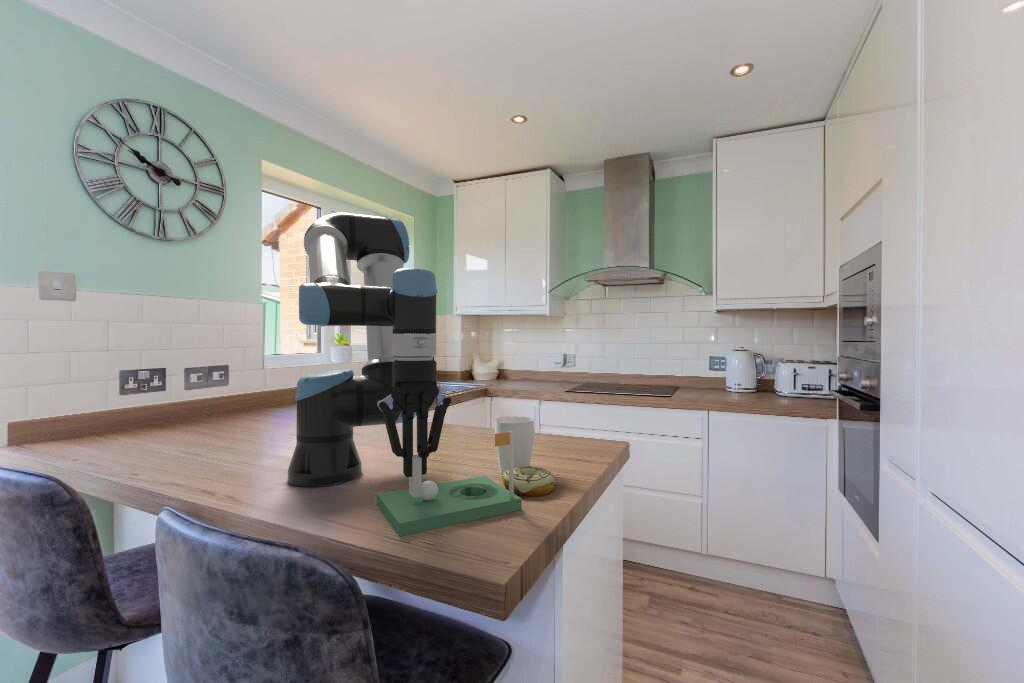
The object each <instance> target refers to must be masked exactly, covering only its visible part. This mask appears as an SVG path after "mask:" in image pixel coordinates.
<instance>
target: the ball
mask: <svg viewBox="0 0 1024 683" xmlns="http://www.w3.org/2000/svg"><path fill="white" fill-rule="evenodd" d="M437 484H438V483H436V482H435V481H433V480H425V481H422V496H420V497H421V498H422V499H423V500H426V501H430V500H432V499H434V498H435V497H436V496H437V494H438V486H437Z"/></svg>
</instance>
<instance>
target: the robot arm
mask: <svg viewBox="0 0 1024 683" xmlns="http://www.w3.org/2000/svg"><path fill="white" fill-rule="evenodd" d="M303 247H304V252H305V253H306V255H307V257H308V264H309V265H308V266H309V267H308V269H309V270H308V271H309V283H302V284H300V285H299V286H298V318H299V321H300V323H301V324H303V325H306V326H320V327H332V326H333V327H337V326H338V327H342V326H344V327H345V326H347V327H349V326H350V327H352V326H353V327H356V326H357V327H358V326H361V327H362V326H363V327H365V328H366V346H367V347H366V348H367V362H366V363H365V364H364V365H363V366H362V367H361V374H356V375H355V374H354V371H353V370H352V369H351V368H345V369H344V368H343V369H333V370H326V371H320V372H315V373H310V374H306V375H303V376H301V378H299V379H298V381H297V383H296V393H295V397H294V398H295V399H294V400H295V401H296V430H295V431H296V445H295V447H294V451H293V453H292V457H291V460H290V463H289V464H288V468H287V482H288V483H289V484H291V485H292V486H293V485H294V486H296V487H306V488H307V487H310V488H311V487H312V488H313V487H314V488H315V487H325V486H334V485H338V484H342V483H347V482H349V481H352V480H354V479H356V478H358V477H359V476H361V475H362V474H363V473H362V461H361V458H360V455H359V453H358V452H359V451H358V449H357V446H356V443H355V441H354V440H355V439H354V427H357V428H358V427H366V426H367V427H368V426H379V425H380V426H381V425H385V428H386V433H387V436H388V440H389V444H390V448H391V451H392V453H393V455H395V456H396V457H401V458H403V459H402V460H403V461H402V463H403V464H402V466H403V468H402V471H403V472H402V473H403V475H404V476H405V478H408V489H409V493H410V494H411V495H412V496H413V497H418V496H422V483H423V481H422V478H423V477H422V476H425V475H427V472H428V468H427V467H428V457H429V456H430V454H432V453H436V452H437V451H438V448H439V444H440V438H441V434H442V431H443V425H444V422H445V416H446V412H447V410H448V408H449V406H450V404H451V403H452V398H451V397H449V396H446V395H444V394H443V393H441V392H440V389H439V386H438V385H437V380H438V379H437V378H438V377H437V375H438V374H437V361H436V360H435V359H434V358H435V357H436V356H437V295H438V289H437V280H436V279H437V278H436V274H435V273H434V272H433V271H432V270H429V269H424V268H422V269H421V268H404V267H405V266H404V265H405V264H407V263H408V261H409V258H410V238H409V233H408V229H407V226H406V225H405V223H404V222H403V221H402V220H400V219H398V218H392V217H389V216H375V215H367V214H366V215H365V214H359V213H358V214H356V213H348V212H334V213H331V214H330V213H329V214H327V215H323V216H322V217H320V218H318V219H316V220H314V221H313V223H311V224H310V226H309V227H308V228H307V229H306V231H305V233H304V237H303ZM347 261H356V267H357V269H358V270H359V271H360V272H361V273H362V274H363V284H364V285H357V284H356V285H355V284H354V285H353V284H352V282H351V278H350V273H349V269H348V264H347V263H348V262H347ZM434 402H435V409H434V412H433V416H432V420H431V426H430V429H429V433H428V424H429V423H428V420H429V419H428V418H429V410H430V408H431V407H432V405H433V403H434ZM415 418H416V452H417V454H414V419H415ZM397 424H402V427H401V428H402V435H401V436H402V440H401V441H402V444H401V441H400V437H399V431H398V429H397V428H398V427H397Z"/></svg>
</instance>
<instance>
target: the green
mask: <svg viewBox="0 0 1024 683" xmlns="http://www.w3.org/2000/svg"><path fill="white" fill-rule="evenodd" d="M503 445H509V490H507V489H506V487H505V486H502V485H501V484H499V483H497V482H496V481H494V480H493V479H490V478H489V477H487V476H485V475H481V476H475V477H469V478H465V479H463V478H462V479H458V480H453V481H447V482H441V483H440V482H439V483H436V484H437V486H438V494H437V496H436V497H435V498H434V499H432V500H430V501H426V500H423V499H422V498H421V497H420V496H418V497H413V496H412V495H411V494H410V493H409V488H406V489H399V490H398V489H397V490H393V491H388V492H387V491H386V492H380V493H377V494H376V505H377V507H378V506H379V507H378V508H379V510H380V509H381V510H380V511H381V512H382V514H383V513H384V514H383V515H384V516H386V517H385V518H386V519H387V521H388V522H389V523H391V524H390V525H391V527H392V528H393V529H394V531H395V533H397V535H398V536H399V537H402V536H407V535H410V534H415V533H420V532H425V531H429V530H433V529H434V530H435V529H437V528H439V529H440V528H443V527H448V526H452V525H458V524H461V523H462V524H463V523H466V522H470V521H474V520H480V519H483V518H489V517H494V516H498V515H502V514H506V513H507V514H508V513H511V512H516V511H521V510H522V497H520V496H518V494H516V493H514V431H509V432H504V433H496V434H495V433H494V447H497V446H503Z"/></svg>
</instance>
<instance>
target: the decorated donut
mask: <svg viewBox="0 0 1024 683" xmlns="http://www.w3.org/2000/svg"><path fill="white" fill-rule="evenodd" d="M501 478H502V479H501V480H502V482H503V485H504V486H503V487H504V488H505V489H507V490H509V470H506V471H505V472H504V473H503V474H502V477H501ZM555 485H556V477H555V475H554V474H553V473H552V472H551V471H549V470H548V469H545V468H543V467H538V466H531V465H530V466H520V467H516V468H514V494H515V495H522V496H527V497H535V496H538V497H539V496H546V495H549V493H551V492H552V491H553V490H554V488H555Z"/></svg>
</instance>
